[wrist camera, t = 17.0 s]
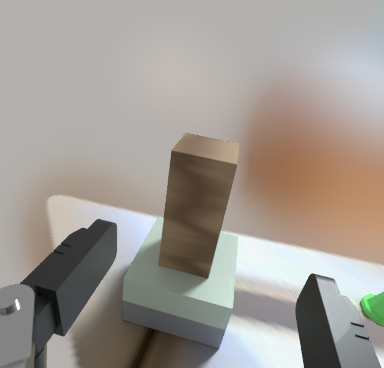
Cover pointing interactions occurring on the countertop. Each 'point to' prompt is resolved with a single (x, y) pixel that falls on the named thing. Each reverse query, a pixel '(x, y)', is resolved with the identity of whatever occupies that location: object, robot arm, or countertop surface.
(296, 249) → the countertop surface
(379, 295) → the game piece
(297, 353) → the countertop surface
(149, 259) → the pale green grey block
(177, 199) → the walnut block
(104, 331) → the countertop surface
